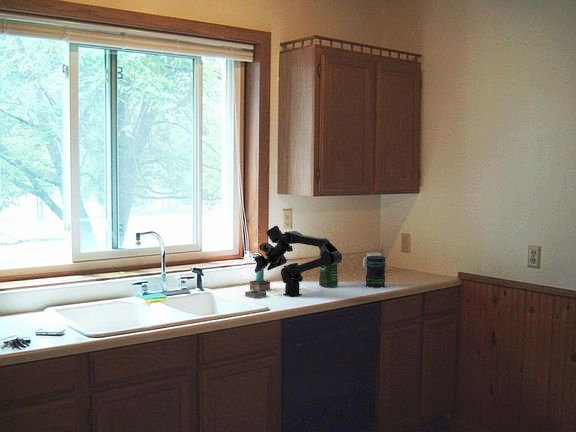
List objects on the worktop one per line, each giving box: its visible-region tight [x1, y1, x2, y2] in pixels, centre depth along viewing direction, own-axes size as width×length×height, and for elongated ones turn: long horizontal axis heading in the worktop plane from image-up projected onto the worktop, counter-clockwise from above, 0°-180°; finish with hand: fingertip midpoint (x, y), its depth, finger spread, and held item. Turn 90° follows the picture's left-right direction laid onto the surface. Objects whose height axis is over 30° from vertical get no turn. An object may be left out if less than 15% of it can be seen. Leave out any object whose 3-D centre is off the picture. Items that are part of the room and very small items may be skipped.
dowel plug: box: [255, 263, 265, 283], centre depth 317 cm, size 4×4×10 cm
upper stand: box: [249, 279, 271, 292], centre depth 318 cm, size 7×7×4 cm
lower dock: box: [244, 290, 267, 299], centre depth 302 cm, size 7×7×2 cm
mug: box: [362, 252, 382, 272], centre depth 374 cm, size 12×8×11 cm
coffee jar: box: [318, 249, 339, 288], centre depth 329 cm, size 10×8×19 cm
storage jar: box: [365, 255, 387, 289], centre depth 331 cm, size 10×10×15 cm
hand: (261, 270), depth 317 cm, fingers open, 9 cm apart
